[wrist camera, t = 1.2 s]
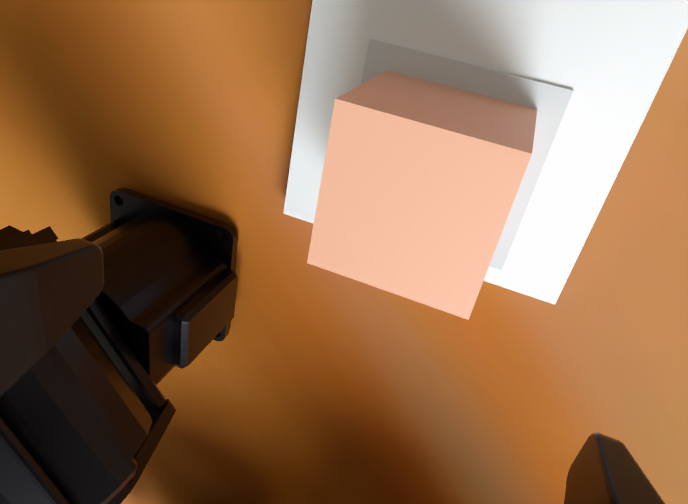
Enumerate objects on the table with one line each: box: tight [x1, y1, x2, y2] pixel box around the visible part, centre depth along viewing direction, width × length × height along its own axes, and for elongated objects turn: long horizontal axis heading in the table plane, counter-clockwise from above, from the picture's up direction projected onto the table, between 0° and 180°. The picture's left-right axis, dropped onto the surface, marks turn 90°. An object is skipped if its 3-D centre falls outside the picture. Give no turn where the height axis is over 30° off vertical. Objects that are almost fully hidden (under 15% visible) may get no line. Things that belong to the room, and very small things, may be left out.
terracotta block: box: [307, 70, 537, 320], centre depth 16 cm, size 5×5×5 cm
